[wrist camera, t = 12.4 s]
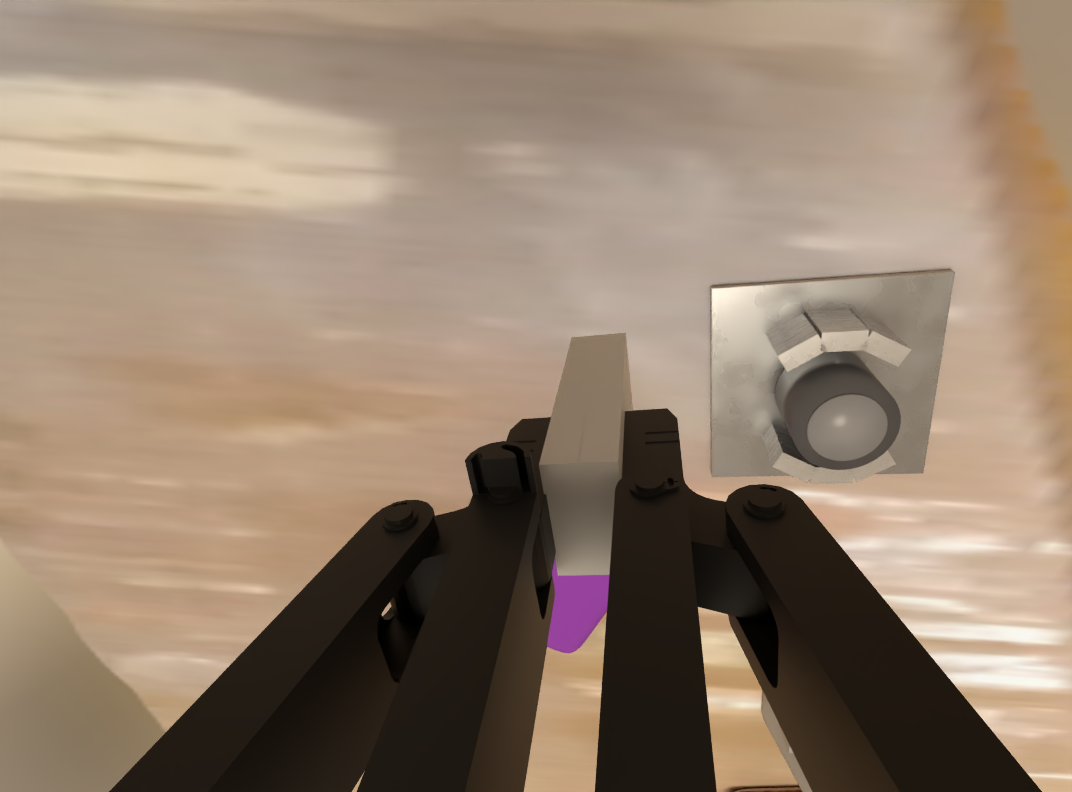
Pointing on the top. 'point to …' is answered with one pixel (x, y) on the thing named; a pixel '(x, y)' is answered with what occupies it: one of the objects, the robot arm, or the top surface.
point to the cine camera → (772, 790)
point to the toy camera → (576, 609)
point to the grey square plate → (807, 331)
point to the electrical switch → (783, 745)
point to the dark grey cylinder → (837, 411)
